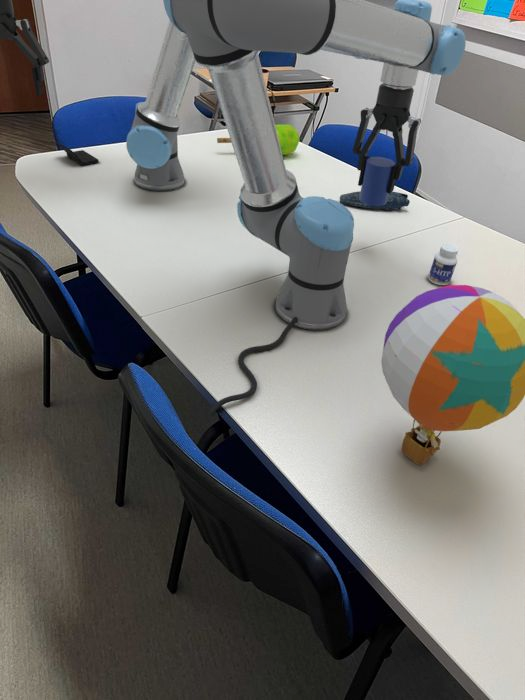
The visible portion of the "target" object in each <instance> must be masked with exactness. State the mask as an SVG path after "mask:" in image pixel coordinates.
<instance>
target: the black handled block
mask: <svg viewBox="0 0 525 700" xmlns="http://www.w3.org/2000/svg"><path fill="white" fill-rule="evenodd" d="M54 141H55V143H56V145H58V146H59V147H60V148H61V149H62V150H63V151H64V152H65V153H66V156H67V157H68V158H70V159H71V160H74V162H76V163H78V164H79V165H81V166H87V165H92V164H97V163H99V161H100V160H99V159H98V158H96V156H93V155H92V154H90V153H88V151H85V150H84V149H81V150H75V151H73V150H72V149H70V148H69V147H67V146H66V145H64V144H62V143H61V142H59V141H58V140H54Z"/></svg>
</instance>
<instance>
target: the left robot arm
mask: <svg viewBox="0 0 525 700" xmlns="http://www.w3.org/2000/svg"><path fill="white" fill-rule="evenodd" d="M17 28H19V30H20V31H22V33H23V35H24V37H25V38H26V40H27V42H28V43H29V45H28V44H27V43H26V41H25V40H24V38H22V35H21V34H20V33H19V32H18V31H17ZM0 39H1V40H4V41H8V40H10V41H11V42H12V43H13V44H15V46H16V47H17V48H18V49H19V50H20V51H21V52H22V53H23V54H24V56H25V57H26V58H27V59H28V61H30V62H31V64H32V65H33V66H32V67H31V72H32V73H31V74H32V77H33V83H34V88H35V90H34V91H35V93H36V95H35V96H37V97H40V96H42V95H44V90H43V89H44V88H43V81H44V80H45V74H44V69H43V66H46V65H47V64H49V63H50V59H49V57H48V56H47V54H46V52H45V51H44V49H43V47H42V46H41V44H40V42H39V41H38V39H37V36H36V35H35V33H34V32H33V30H32V26H31V23H30V21H29V19H28V18H25V19H19V20H18V19H17V18H16V16H15V11H14V5H13V0H0ZM195 63H196V60H195V58H194V55H193V52H192V49H191V46H190V43H189V40H188V37H187V34H186V33H183V32H181V31H179V30H178V29H177V28H176V27H175V26H174V25H173V23H172V22H171V21H170V19H169V20H168V24H167V28H166V30H165V34H164V38H163V41H162V45H161V47H160V51H159V55H158V58H157V60H156V65H155V68H154V72H153V74H152V79H151V82H150V85H149V89H148V91H147V94H146V99H145V101H140V102H137V103H136V104H135V111H134V113H135V115H134V118H133V122H132V125H131V128H130V130H129V132H128V133H127V136H126V150H127V153H128V155H129V156H130V159H131V160H132V161H133V162H134V163H135V164H136V166H135V167H136V168H135V171H134V183H135V185H136V186H137V187H139V188H142V189H145V190H149V191H155V192H165V191H173V190H177V189H179V188H181V187H183V186H184V185H185V174H184V171H183V168H182V165H181V162H180V159H179V149H178V148H179V147H178V132H179V129H180V126H181V122H180V119H179V117H178V114H179V110H180V108H181V105H182V102H183V99H184V96H185V93H186V89H187V87H188V83H189V81H190V79H191V75H192V72H193V70H194V69H193V68H194V66H195Z"/></svg>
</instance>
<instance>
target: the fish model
mask: <svg viewBox="0 0 525 700" xmlns="http://www.w3.org/2000/svg"><path fill="white" fill-rule="evenodd" d="M360 192H361V190H360V191H352V192H348V193H344V194H341V195H340V196H339V203H341V204H346V205H349V206H351V207H357V208H362V209H371V210H372V209H374V210H384V211H385V210H386V211H391V210H394V209H397V210H402V208H404V207H408V206H409V205H410V202H411V201H410V200H409V195H408V194H406V193H403V192H402V193H401V192H399V191H392V192H391V193H390V194H388V198H387V203H386V204H385V205H382V206H372V205H367V204H365V203H363V202H361V201H360V200H359V197H360Z"/></svg>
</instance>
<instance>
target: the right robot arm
mask: <svg viewBox="0 0 525 700" xmlns="http://www.w3.org/2000/svg"><path fill="white" fill-rule="evenodd" d="M162 1H163V2H162V3H163V7H164V10H165V13H166V15H167V17H168V19H169V20H170V21H171V22H172V23H173V25H174V26H175V27H176V28H177V29H178V30H179V31H181V32H183V33H186V34H187V37H188V40H189V43H190V46H191V49H192V52H193V55H194V58H195V63H197V64H198V65H199V66H200V67H201V66H202V67H203V68H206V69H207V70H208V73H209V76H210V79H211V82H212V86H213V90H214V92H215V95H216V98H217V102H218V104H219V107H220V111H221V113H222V117H223V120H224V123H225V126H226V129H227V132H228V136H229V138H230V139H231V142H232V143H231V145H232V148H233V151H234V155H235V157H236V161H237V163H238V167H239V170H240V173H241V176H242V180H243V184H242V185H241V188H240V194H239V196H238V200H239V202H237V204H236V212H237V217H238V220H239V222H240V224H241V225H242V227H243V228H245V229H246V230H247V231H248V232H249V234H251V235H252V236H253V237H255V238H257V239H260V240H261V241H262V242H265V243H266V244H268V245H269V246H271V247H273V248H275V249H276V250H278V251H280V252H281V253H283V254H284V255H286V256H287V257H289V262H288V263H289V264H288V270H287V271H288V272H287V275H286V278H285V279H284V282H283V283H282V285H281V287H280V290H279V291H278V294H277V296H276V300H275V311H276V313H277V315H278V316H279V317H280V318H281V319H282V320H283V321H284V322H286V323H287V325H286V326H285V328H284V329H283V330H282V332H281V334H280V336H279V337H278V339H276V340H275V341H273V342H271V343H269V344H265V345H263V344H262V345H256V346H251V347H248V348H246V349H243V350H242V351H241V352H240V353H239V356H238V359H237V361H238V365H239V367H240V369H241V370H242V371H243V373H244V374H245V375H246V376H247V378H248V379H249V380H250V384H251V385H250V388H249V389H248V390H247V391H245V392H243V393H238V394H233V395H229V396H226V397H223V398H222V399H219V400H218V401H217V402H216V403H214V405H212V407H211V408H210V409H209V411H208V414H207V415H208V416H209V417H213V416H214V415H215V414H216V412H218V410H219V409H220V408H221V407H223V406H224V405H226V404H229V403H231V402H236V401H240V400H244V399H247V398H250V397H252V396H253V395H254V394H255V392H256V390H257V387H258V382H257V379H256V377H255V375H254V374H253V373H252V370H250V369H249V367H248V366H247V365H246V364H245V361H244V359H245V357H246V356H247V355H249V354H251V353H255V352H261V351H268V350H271V349H274V348H276V347H278V346H280V345H281V344H282V343H283V341H284V340H285V339H286V338H287V335H288V334H289V332H290V331H291V330H292V328H293V327H296V328H300V329H304V330H310V331H324V330H325V331H326V330H329V329H333V328H336V327H337V326H339V325H340V324H342V323H343V322H344V320H345V318H346V315H347V310H348V309H347V308H348V307H347V306H348V305H347V297H346V292H345V286H344V280H345V275H346V271H347V267H348V262H349V257H350V253H351V247H352V244H353V240H354V230H355V229H354V228H355V218H354V216H353V214H352V212H351V211H350V209H348V208H347V207H346V206H345V205H344V204H343V203H341V202H340V201H337V200H335V199H333V198H328V199H327V198H325V197H324V196H316V195H315V196H313V195H311V196H307V197H302V196H301V194H300V192H299V185H298V182H297V178H296V176H295V174H294V173H293V172H292V171H290V170H288V169H286V164H285V161H284V155H282V152H281V147H280V143H279V139H278V135H277V131H276V127H275V125H276V122H275V118H274V114H273V110H272V106H271V101H270V98H269V97H270V96H269V94H268V89H267V86H266V85H267V84H266V81H265V76H264V72H263V68H262V64H261V60H260V55H259V52H270V53H271V52H272V53H290V54H291V53H292V54H299V55H303V56H311V55H312V56H313V55H315V54H317V53H318V52H320V51H323V52H329V53H333V54H339V55H343V56H344V55H345V56H347V57H348V56H349V57H353V58H355V59H359V60H367V61H368V60H369V61H375V62H378V63H383V65H382V69H381V70H382V71H381V76H380V82H381V84H379V87H378V92H377V97H376V101H375V105H374V107H373V108H368V107H365V108H363V109H361V110H360V122H359V126H358V129H357V132H356V137H355V140H354V144H353V147H352V153H353V154H356V155H357V156H358V162H357V167H356V168H357V171H359V177H358V181H357V182H358V183H357V186H360V187H362V181H363V176H364V171H365V166H366V161H367V159H368V158H370V156H369V155H368V154H369V151H370V150H371V148H372V147H373V145H374V143H375V141H376V140H377V138H378V136H379V134H380V132H381V131H388V132H390V133H392V137H393V142H394V143H393V144H394V153H395V165H394V166H393V168H392V173H391V177H390V182H389V186H388V191H387V193H389V194H390V193H391V192H394V190H395V186H396V182H397V181H399V180H400V179H401V177H402V173H403V170H404V167H409V166H410V165H411V164H413V162H414V156H415V149H416V142H417V135H418V129H419V127H420V125H421V124H422V119H421V118H415V117H413V116H411V111H410V110H411V106H412V105H411V104H412V100H413V96H414V92H415V90H414V88H413V87H414V86H416V83H417V79H418V74H419V71H420V72H421V71H422V72H425V73H428V74H431V75H437V76H438V75H439V76H442V77H443V76H445V77H446V76H449V75H451V74H452V73H453V72H455V71H456V70H457V68H458V66H459V65H460V63H461V61H462V59H463V57H464V53H465V50H466V35H465V32H463V30H462V29H461V28H459V27H458V28H457V27H454V26H451V25H448V24H446V25H444V24H440V23H436V22H432V21H431V17H432V11H433V6H432V4H431V3H430V2H428V1H425V0H397V1H395V3H394V4H395V5H394V7H393V8H388V7H386V6H382V5H380V4H377V3H374V2H371V1H366V0H162ZM372 116H373V118H374V120H375V124H374V126H373V128H372V131H371V132H370V134H369V136H368V138H367V140H366V141H365V143H364V140H365V136H366V132H367V129H368V126H369V122H370V119H371V118H372ZM406 123H408V124H407V125H408V128H409V131H408V136H407V142H406V143H407V144H406V150H405V149H404V140H403V138H404V137H403V133H404V132H403V126H404V125H405V124H406ZM363 143H364V145H363ZM362 146H363V147H362Z"/></svg>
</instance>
